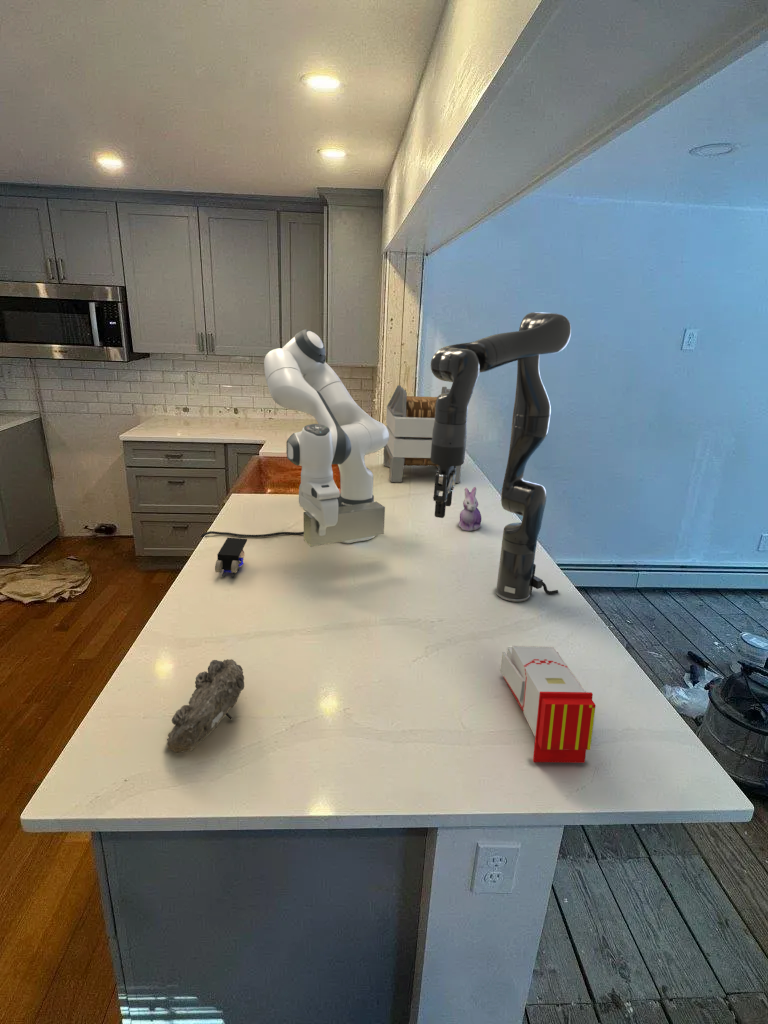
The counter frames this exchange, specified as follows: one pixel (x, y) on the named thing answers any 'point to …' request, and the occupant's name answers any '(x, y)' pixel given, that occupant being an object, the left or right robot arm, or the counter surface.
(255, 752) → the counter surface
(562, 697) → the toy
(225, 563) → the toy car
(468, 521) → the figurine
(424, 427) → the grey storage crate
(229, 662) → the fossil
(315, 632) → the counter surface
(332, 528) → the bar
